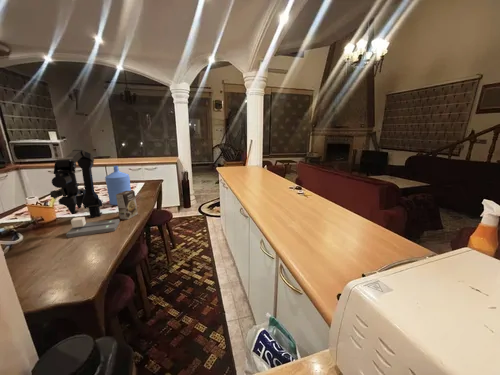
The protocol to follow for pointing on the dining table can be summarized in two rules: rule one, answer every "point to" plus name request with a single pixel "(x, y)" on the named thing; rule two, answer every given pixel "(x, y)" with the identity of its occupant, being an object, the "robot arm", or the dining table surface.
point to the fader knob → (78, 222)
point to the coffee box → (126, 204)
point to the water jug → (117, 184)
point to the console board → (94, 228)
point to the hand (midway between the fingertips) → (76, 210)
